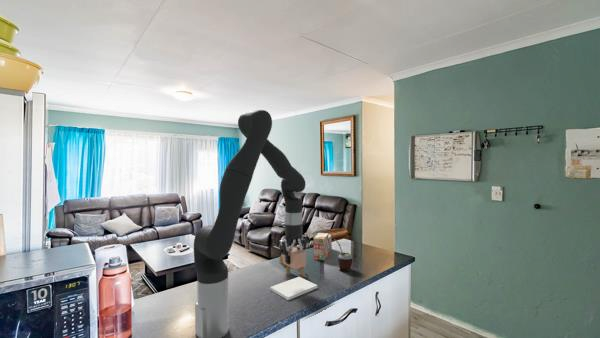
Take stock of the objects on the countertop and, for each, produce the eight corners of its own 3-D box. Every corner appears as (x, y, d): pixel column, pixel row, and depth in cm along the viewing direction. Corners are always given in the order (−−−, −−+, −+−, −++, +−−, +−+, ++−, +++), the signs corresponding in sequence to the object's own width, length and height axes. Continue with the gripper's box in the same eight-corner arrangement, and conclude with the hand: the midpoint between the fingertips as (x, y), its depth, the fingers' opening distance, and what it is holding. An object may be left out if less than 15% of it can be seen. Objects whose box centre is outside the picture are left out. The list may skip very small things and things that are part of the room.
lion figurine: (277, 275, 128) (277, 256, 128) (281, 271, 133) (281, 253, 133) (306, 278, 124) (306, 259, 124) (309, 274, 129) (309, 255, 129)
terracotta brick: (295, 269, 108) (295, 254, 108) (282, 263, 115) (282, 249, 115) (305, 266, 112) (305, 251, 112) (292, 260, 119) (292, 246, 119)
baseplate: (288, 300, 104) (288, 297, 104) (270, 289, 113) (270, 287, 113) (317, 288, 114) (317, 285, 114) (299, 279, 123) (299, 276, 123)
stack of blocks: (322, 248, 170) (322, 229, 170) (331, 249, 168) (331, 229, 168) (313, 259, 150) (313, 237, 150) (324, 260, 148) (324, 238, 148)
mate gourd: (355, 272, 131) (354, 241, 131) (340, 273, 129) (340, 243, 129) (348, 266, 139) (347, 237, 138) (334, 268, 136) (333, 239, 136)
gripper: (285, 226, 106) (286, 269, 106) (311, 221, 115) (312, 260, 115) (274, 223, 111) (275, 263, 112) (300, 218, 121) (300, 256, 121)
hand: (294, 261), depth 114 cm, fingers closed on terracotta brick, 5 cm apart
